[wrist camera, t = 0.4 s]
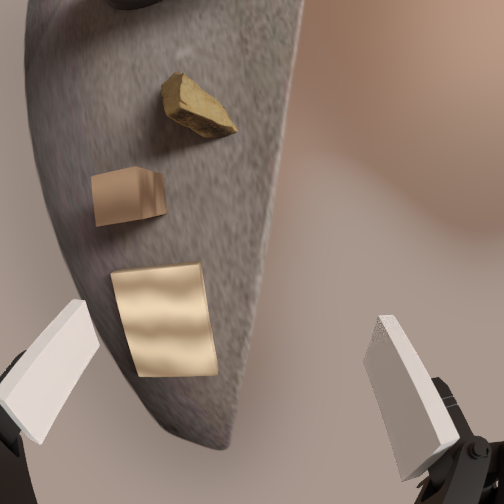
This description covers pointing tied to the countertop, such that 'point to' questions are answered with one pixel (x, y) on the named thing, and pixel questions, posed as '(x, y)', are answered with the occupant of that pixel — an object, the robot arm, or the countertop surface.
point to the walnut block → (127, 195)
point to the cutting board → (166, 319)
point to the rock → (195, 107)
